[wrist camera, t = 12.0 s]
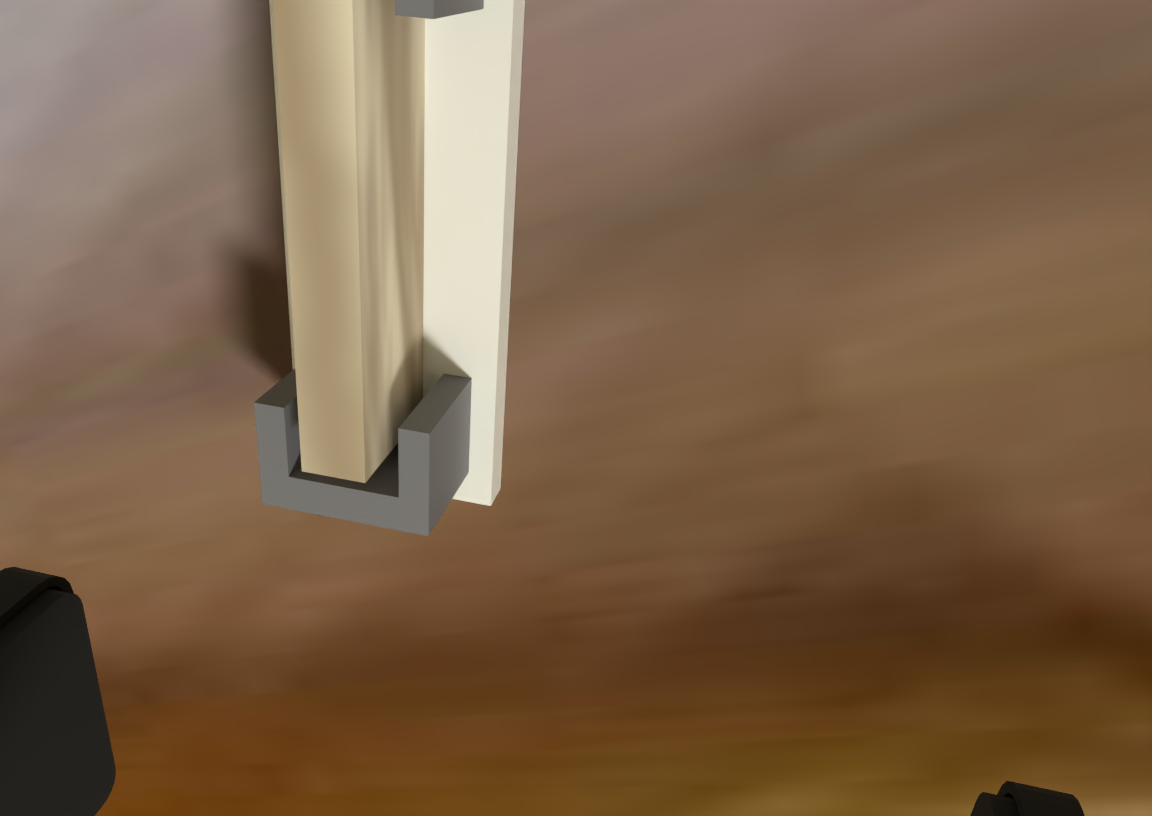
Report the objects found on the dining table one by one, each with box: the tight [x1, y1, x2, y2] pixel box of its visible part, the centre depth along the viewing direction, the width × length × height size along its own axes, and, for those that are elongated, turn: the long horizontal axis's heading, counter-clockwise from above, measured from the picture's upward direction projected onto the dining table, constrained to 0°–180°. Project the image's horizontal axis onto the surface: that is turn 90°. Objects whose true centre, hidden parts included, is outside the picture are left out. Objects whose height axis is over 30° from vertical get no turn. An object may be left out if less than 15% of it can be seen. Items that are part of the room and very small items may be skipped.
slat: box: [272, 0, 425, 483], centre depth 33 cm, size 2×18×6 cm, turn 175°
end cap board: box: [254, 0, 525, 536], centre depth 34 cm, size 9×26×6 cm, turn 175°
